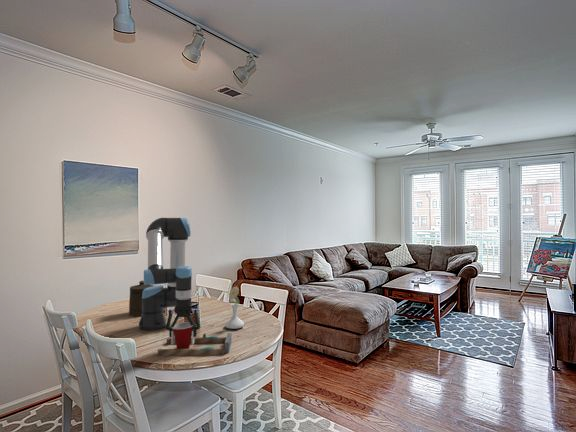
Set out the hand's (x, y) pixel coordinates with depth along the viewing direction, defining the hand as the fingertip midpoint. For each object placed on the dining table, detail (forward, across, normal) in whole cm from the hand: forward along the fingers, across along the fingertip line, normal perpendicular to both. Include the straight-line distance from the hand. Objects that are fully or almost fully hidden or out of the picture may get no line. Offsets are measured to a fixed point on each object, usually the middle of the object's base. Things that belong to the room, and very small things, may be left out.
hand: (182, 343), depth 162 cm
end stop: (+3, +22, 0) cm, 22 cm away
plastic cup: (+3, 0, 0) cm, 3 cm away
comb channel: (+3, +5, 0) cm, 6 cm away
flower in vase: (+3, +23, +30) cm, 38 cm away
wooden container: (+3, -42, +61) cm, 74 cm away
